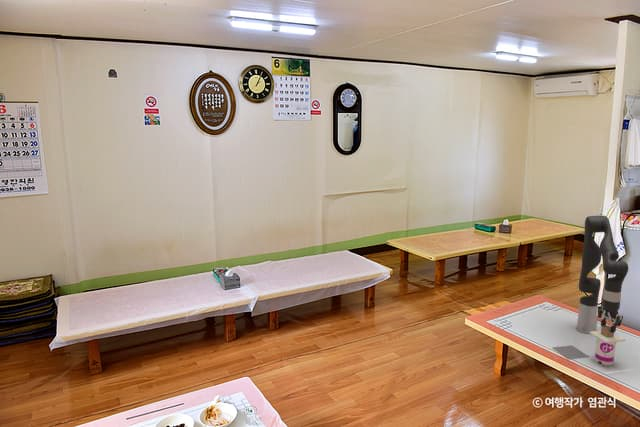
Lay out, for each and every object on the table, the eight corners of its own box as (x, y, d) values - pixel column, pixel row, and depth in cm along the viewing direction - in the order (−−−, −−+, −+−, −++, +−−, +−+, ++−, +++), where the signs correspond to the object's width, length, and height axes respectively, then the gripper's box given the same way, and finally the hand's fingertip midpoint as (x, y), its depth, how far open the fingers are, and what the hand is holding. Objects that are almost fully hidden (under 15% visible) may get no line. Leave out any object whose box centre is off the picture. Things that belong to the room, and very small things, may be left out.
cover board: (607, 331, 236) (608, 321, 235) (625, 340, 225) (626, 331, 224) (589, 333, 234) (590, 323, 233) (606, 342, 223) (607, 333, 222)
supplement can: (613, 369, 227) (616, 342, 224) (594, 364, 231) (597, 338, 228) (612, 362, 234) (616, 335, 231) (594, 357, 238) (597, 331, 235)
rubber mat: (572, 347, 250) (572, 345, 249) (589, 358, 237) (589, 357, 237) (551, 349, 247) (551, 347, 247) (567, 361, 235) (568, 359, 235)
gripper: (630, 303, 219) (625, 335, 222) (606, 293, 233) (603, 323, 236) (616, 304, 218) (612, 336, 221) (594, 294, 232) (590, 324, 235)
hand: (607, 329), depth 229 cm, fingers open, 5 cm apart
